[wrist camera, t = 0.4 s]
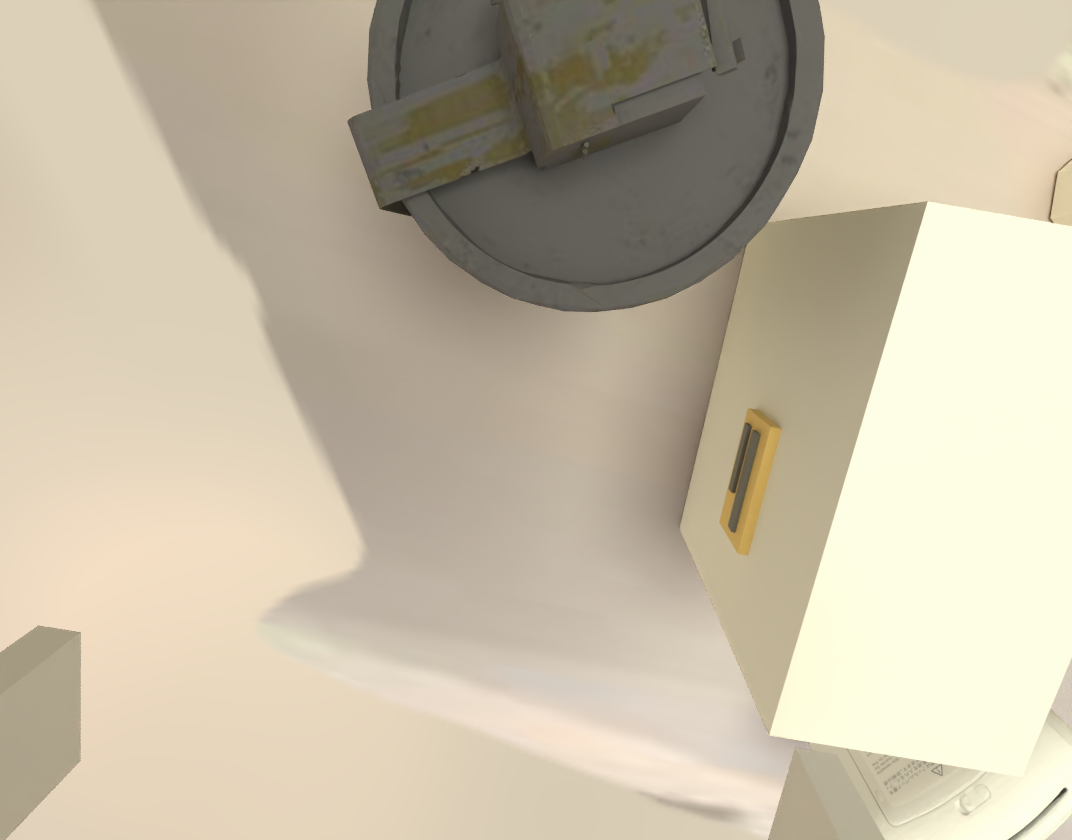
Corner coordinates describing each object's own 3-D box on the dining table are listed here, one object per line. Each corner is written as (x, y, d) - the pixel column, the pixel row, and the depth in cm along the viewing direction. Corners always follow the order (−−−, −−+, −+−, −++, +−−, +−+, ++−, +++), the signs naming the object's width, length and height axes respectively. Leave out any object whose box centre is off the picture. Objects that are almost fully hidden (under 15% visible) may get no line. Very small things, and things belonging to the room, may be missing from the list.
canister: (650, 14, 30) (811, -402, 11) (710, 241, 33) (931, 227, 13) (426, 99, 32) (215, -142, 12) (499, 311, 34) (420, 395, 14)
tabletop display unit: (739, 222, 32) (906, 197, 17) (924, 254, 32) (1257, 258, 17) (669, 526, 36) (751, 732, 21) (833, 554, 36) (1037, 779, 21)
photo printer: (818, 737, 39) (933, 951, 27) (770, 691, 39) (865, 889, 27) (964, 627, 37) (1156, 806, 25) (915, 577, 37) (1088, 736, 25)
